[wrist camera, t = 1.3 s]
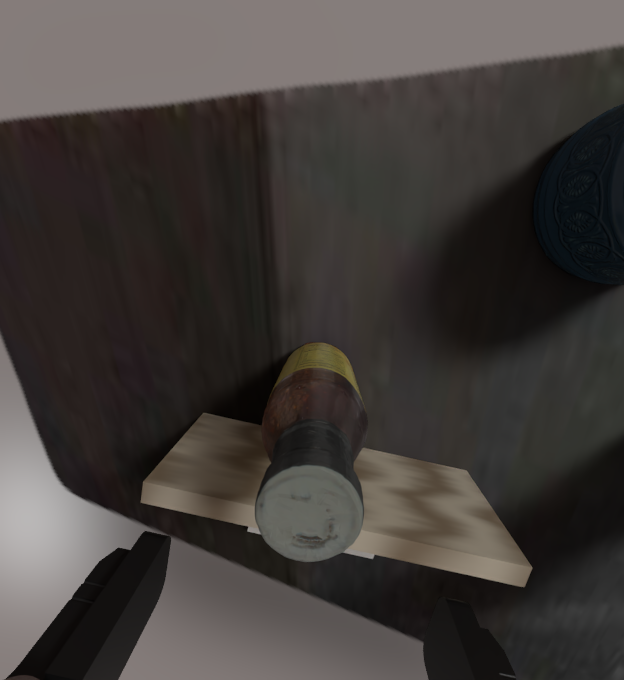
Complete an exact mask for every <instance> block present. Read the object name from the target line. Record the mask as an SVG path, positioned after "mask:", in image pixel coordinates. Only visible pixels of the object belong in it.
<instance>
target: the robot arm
mask: <svg viewBox="0 0 624 680" xmlns="http://www.w3.org/2000/svg"><path fill="white" fill-rule="evenodd" d="M170 544H171V537H170V536H166V535H161V534H157V533H152V532H147V531H145V532H143V533H142V535H141V536H140V538H139V539H138V540H137V542H136V543H135V544H134V546H133V547H132V549H131V550H127V549H122V548H117V549H116V550H115V551H113V552H112V553H111V554H109V555H108V556H106V557H105V558H104V559H102V560H101V561H99V563H98V564H97V565H96V566H95V568H94V569H93V571H92V572H91V573H90V574H89V575H88V577H87V578H86V579H85V582H84V583H83V584H81V586H80V587H79V588H78V590H77V591H76V592H75V593H74V595H73V597H72V599H71V600H69V601H68V603H67V604H66V605H65V606H64V608H63V609H62V610H61V612H60V613H59V614H58V615H57V617H56V618H55V619H54V621H53V622H52V623H51V624H50V626H49V627H48V628H47V630H46V631H45V632H44V633H43V635H42V636H41V637H40V639H39V640H38V641H37V642H36V644H35V645H34V646H33V648H32V649H31V650H30V651H29V653H28V654H27V655H26V657H25V658H24V659H23V661H22V662H21V663H20V664H19V665H18V667H17V668H16V669H15V670H14V671H13V672H12V673H11V674H10V675H9V676H8V677H7V678H6V679H5V680H118V679H119V677H120V675H121V673H122V671H123V669H124V667H125V665H126V663H127V661H128V659H129V657H130V655H131V653H132V651H133V649H134V647H135V645H136V643H137V641H138V639H139V637H140V635H141V634H142V632H143V630H144V627H145V626H146V624H147V622H148V620H149V618H150V616H151V614H152V612H153V610H154V608H155V606H156V604H157V602H158V600H159V597H160V594H161V592H162V589H163V585H164V582H165V577H166V570H167V564H168V557H169V550H170ZM423 652H424V662H425V666H426V671H427V675H428V679H429V680H516V678H515V673H514V671H513V669H512V667H511V665H510V662H509V660H508V658H507V656H506V654H505V652H504V650H503V649H502V647H501V646H500V645H499V643H498V642H497V641H496V640H495V638H494V637H493V636H492V634H491V633H490V632H489V630H488V629H484V628H480V626H479V624H478V621H477V619H476V617H475V614H474V612H473V610H472V608H471V606H470V605H469V603H467V602H464V601H459V600H455V599H450V598H445V597H440V598H439V599H438V601H437V603H436V606H435V609H434V611H433V614H432V617H431V620H430V623H429V625H428V628H427V631H426V634H425V637H424V645H423Z"/></svg>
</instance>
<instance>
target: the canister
mask: <svg viewBox="0 0 624 680" xmlns="http://www.w3.org/2000/svg"><path fill="white" fill-rule="evenodd" d="M533 222H534V228H535V233H536V236H537V239H538V241H539V243H540V245H541V247H542V249H543V251H544V252H545V254H546V255H547V256H548V257H549V259H550V260H551V261H552V262H553V263H554V264H555V265H557V266H558V267H559V268H561V269H562V270H564V271H565V272H567V273H569V274H571V275H574V276H576V277H579V278H582V279H585V280H588V281H591V282H595V283H601V284H613V285H624V104H622V105H619V106H617V107H614V108H612V109H610V110H608V111H606V112H605V113H603V114H601V115H600V116H598V117H596V118H594V119H593V120H591V121H590V122H588V123H587V124H585V125H584V126H583V127H581V128H580V129H579V130H578V131H577V132H576V133H574V134H573V135H572V136H571V137H570V138H569V139H568V140H567V141H566V142H565V143H564V144H563V145H562V146H561V147H560V148H559V149H558V150H557V152H556V153H555V154H554V155H553V157H552V158H551V159H550V161H549V162H548V164H547V165H546V167H545V169H544V171H543V173H542V175H541V177H540V180H539V182H538V185H537V188H536V192H535V196H534V202H533Z"/></svg>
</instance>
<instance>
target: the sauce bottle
mask: <svg viewBox="0 0 624 680" xmlns="http://www.w3.org/2000/svg"><path fill="white" fill-rule="evenodd" d="M367 431H368V420H367V414H366V410H365V406H364V403H363V400H362V397H361V394H360V391H359V388H358V385H357V382H356V379H355V376H354V372H353V369H352V367H351V364H350V362H349V360H348V358H347V357H346V356H345V355H344V354H343V353H342V352H341V351H340V350H339V349H338V348H337V347H335V346H333V345H330V344H327V343H320V342H319V343H313V342H311V343H306V344H305V345H304V346H302V347H300V348H298V349H297V350H295V351H294V352H293V353H292V354H291V355H290V356H289V358H288V360H287V362H286V363H285V365H284V367H283V369H282V371H281V373H280V375H279V377H278V380H277V382H276V384H275V386H274V388H273V390H272V393H271V395H270V397H269V400H268V403H267V407H266V409H265V411H264V416H263V422H262V428H261V433H262V441H263V444H264V447H265V450H266V452H267V454H268V457H269V460H270V462H271V464H270V465H269V467H268V468H267V469H266V472H265V475H264V477H263V479H262V482H261V484H260V488H259V491H258V494H257V498H256V502H255V520H256V523H257V525H258V528H259V531H260V533H261V535H262V536H263V538H264V540H265V542H266V543H267V544H268V545H269V546H270V547H271V548H273V549H274V550H275V551H277V552H278V553H280V554H281V555H283V556H284V557H287V558H290V559H293V560H297V561H303V562H314V561H321V560H325V559H328V558H331V557H333V556H336V555H338V554H340V553H342V552H344V551H345V550H346V549H347V548H348V547H350V546H351V545H352V544H353V543H354V542H355V540H356V539H357V537H358V536H359V534H360V531H361V528H362V525H363V518H364V504H363V494H362V487H361V483H360V481H359V479H358V476H357V474H356V473H355V471H354V468H353V467H354V461H355V460H356V458H357V456H358V455H359V453H360V451H361V450H362V448H363V446H364V444H365V441H366V437H367Z"/></svg>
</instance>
